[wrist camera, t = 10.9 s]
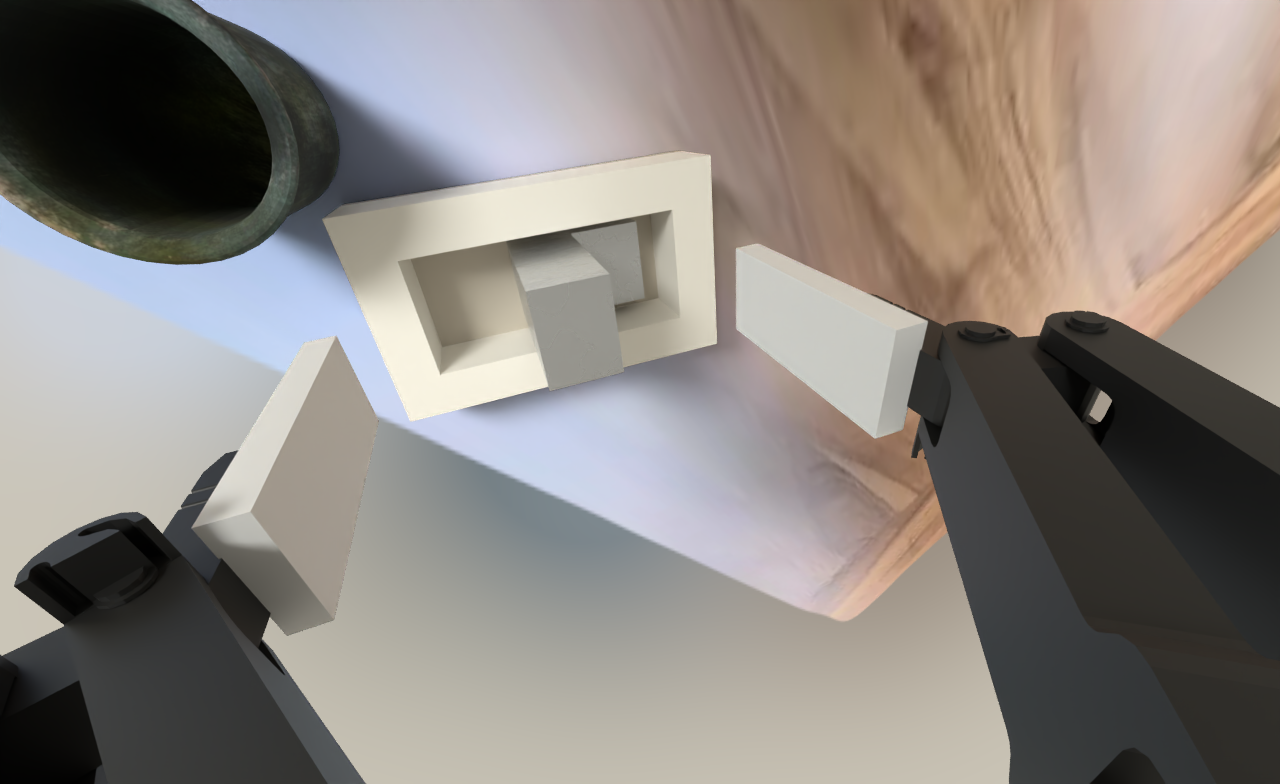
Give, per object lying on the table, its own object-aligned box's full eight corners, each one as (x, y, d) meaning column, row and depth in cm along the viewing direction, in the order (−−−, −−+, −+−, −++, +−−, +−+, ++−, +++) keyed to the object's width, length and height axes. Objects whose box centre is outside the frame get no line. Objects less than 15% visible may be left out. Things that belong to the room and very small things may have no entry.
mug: (332, 245, 33) (278, 299, 23) (27, 149, 27) (-232, 166, 17) (366, 75, 30) (318, 52, 20) (22, -85, 23) (-312, -242, 13)
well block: (342, 204, 32) (322, 219, 27) (678, 150, 37) (710, 155, 32) (416, 384, 39) (410, 421, 35) (689, 319, 44) (716, 343, 40)
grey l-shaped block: (505, 239, 36) (525, 291, 25) (628, 216, 38) (696, 255, 27) (524, 315, 39) (549, 391, 28) (637, 290, 41) (701, 352, 30)
